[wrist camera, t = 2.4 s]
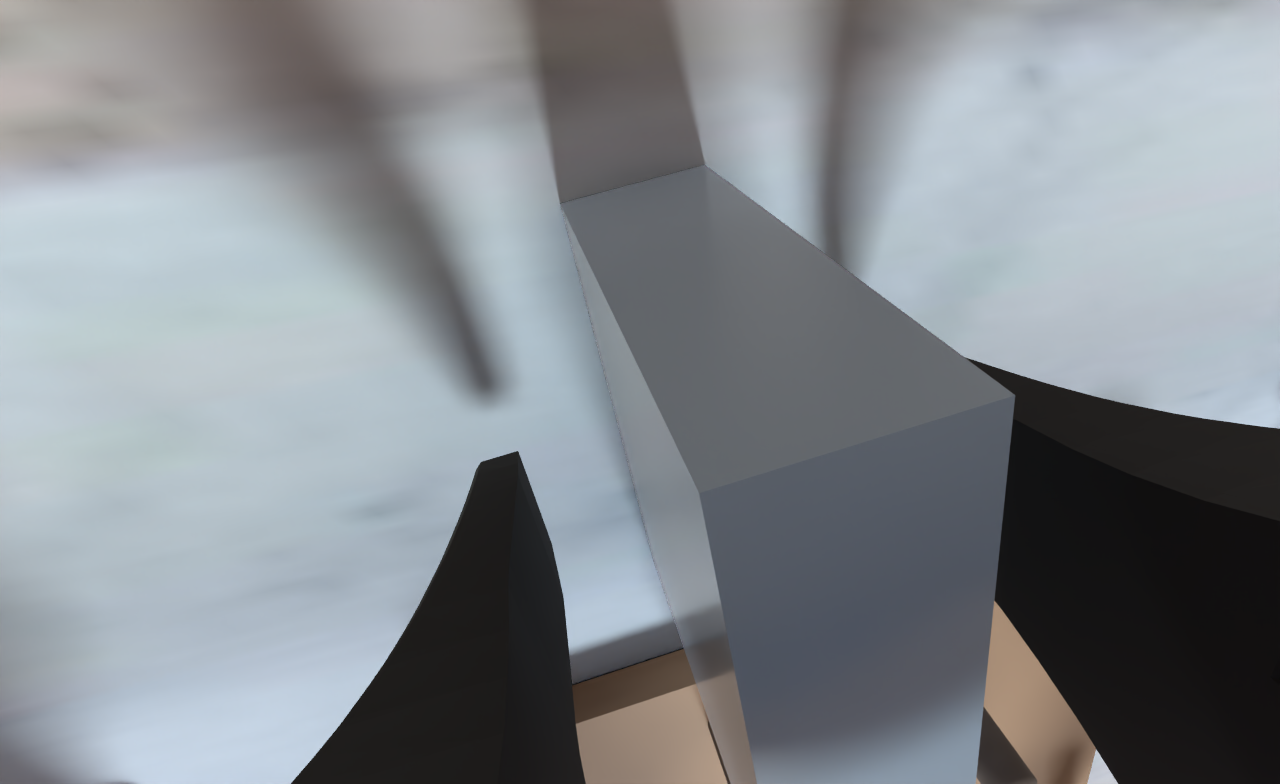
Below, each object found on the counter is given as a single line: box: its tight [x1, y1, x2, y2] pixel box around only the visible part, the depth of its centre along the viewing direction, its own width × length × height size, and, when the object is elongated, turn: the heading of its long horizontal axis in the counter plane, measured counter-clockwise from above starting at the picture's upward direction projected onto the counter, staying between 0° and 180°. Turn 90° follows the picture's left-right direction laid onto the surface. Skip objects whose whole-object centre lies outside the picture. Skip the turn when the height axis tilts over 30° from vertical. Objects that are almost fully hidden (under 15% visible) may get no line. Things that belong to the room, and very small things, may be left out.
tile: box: [560, 165, 1015, 784], centre depth 10 cm, size 2×8×8 cm, turn 11°
